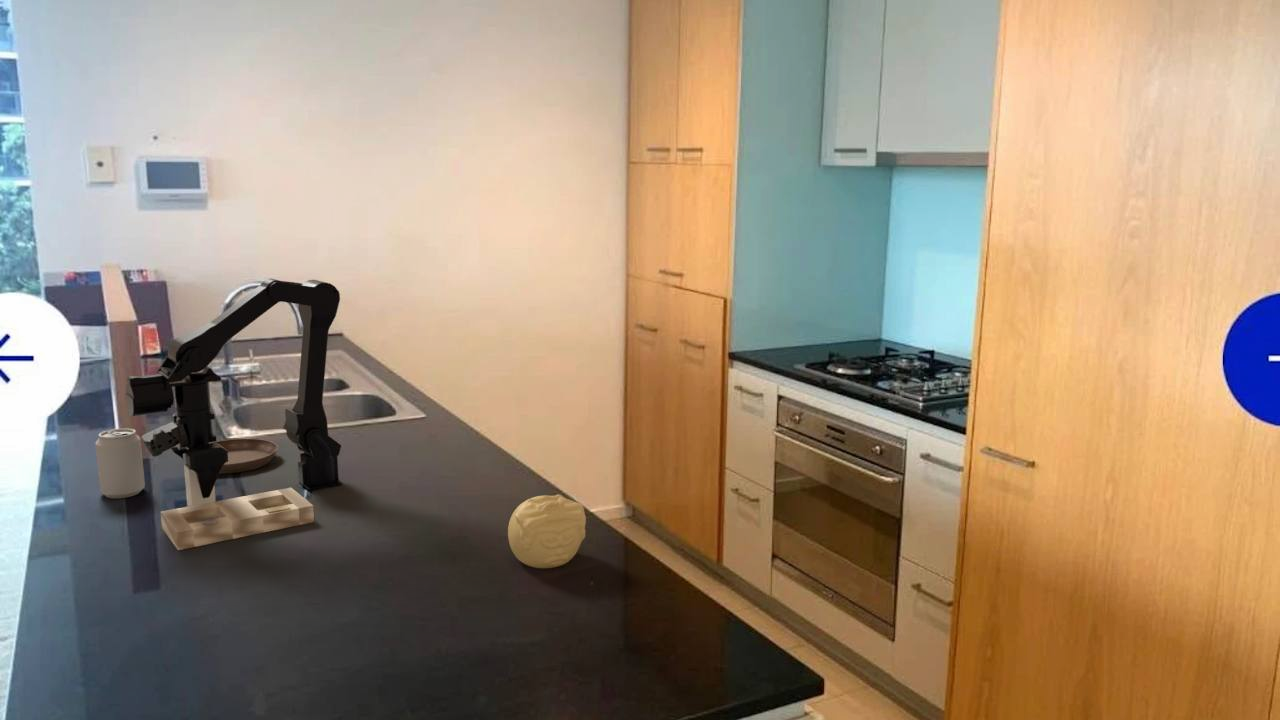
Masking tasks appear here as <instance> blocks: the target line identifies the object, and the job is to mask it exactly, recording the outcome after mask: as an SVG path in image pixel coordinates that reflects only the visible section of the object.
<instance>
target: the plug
mask: <svg viewBox="0 0 1280 720" xmlns="http://www.w3.org/2000/svg"><path fill="white" fill-rule="evenodd" d="M182 462H183V473H184V482H185V483H184V484H185V493H186V494H185V495H186V507H188V506H194V505H199V504H204V503H210V502H215V501H216V489H215V485H214V487H213V489H212V492H211V494H210V497H208V498H203V497H202V494H201V491H200V487H199V484H198V480H197V476H196V473H195V471H193V470H191V469H190V468H189V467H188V466H187V465H186V464H187V462H186V458H185V454H183V460H182Z"/></svg>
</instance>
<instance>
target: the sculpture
mask: <svg viewBox="0 0 1280 720" xmlns="http://www.w3.org/2000/svg"><path fill="white" fill-rule="evenodd" d="M585 513H586V512H585V509H584V506H583V505H582V504H581V503H579V502H576V501H574V500H572V499H568V498H566V497H564V496H563V495H562V494H559V493H558V494H555V495H546V494H544V495H537V496H533V497H531V498H528V499H526V500H525V501H523V502H522V503H520V504H518V506H517V507H516V509H515V510H514V511H513V513H512V514H511V516H510V519H509V523H508V528H507V537H508V543H509V546H510V550H511V551H512V553H513V555H514V556H515V558H516V559H517V560H519V561H520V562H521V563H522V564H524V565H526V566H528V567H530V568H531V567H532V568H535V569H553V568H557V567H561V566H563V565H566V564H567V563H568V562H570V561H571V560H572V559H573V558H574V556H575V555H576V554H577V552H578V551H579V548H580V546H581V544H582V541H584V539H585V537H586V529H585V528H586V522H587V516H586V514H585Z"/></svg>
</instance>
